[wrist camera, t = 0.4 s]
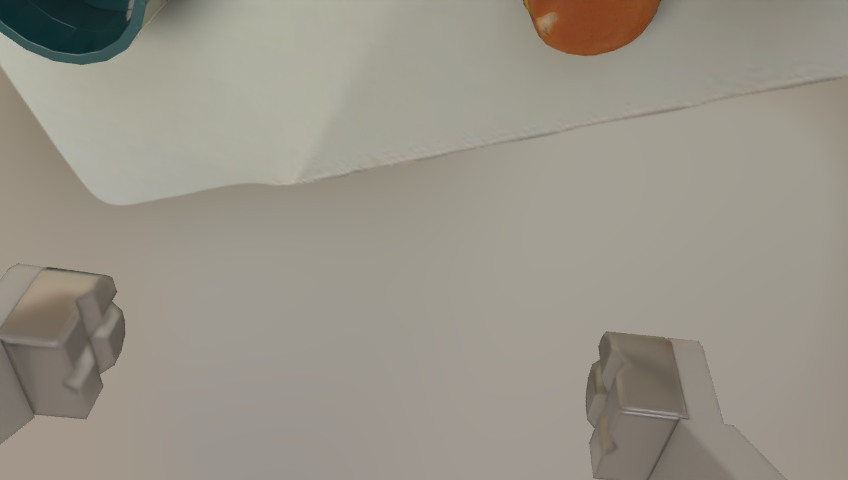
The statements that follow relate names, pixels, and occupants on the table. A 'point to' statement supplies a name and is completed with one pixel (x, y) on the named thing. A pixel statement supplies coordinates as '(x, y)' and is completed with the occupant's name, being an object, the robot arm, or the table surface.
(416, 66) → the table surface
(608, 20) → the burger
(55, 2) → the pot
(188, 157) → the table surface
